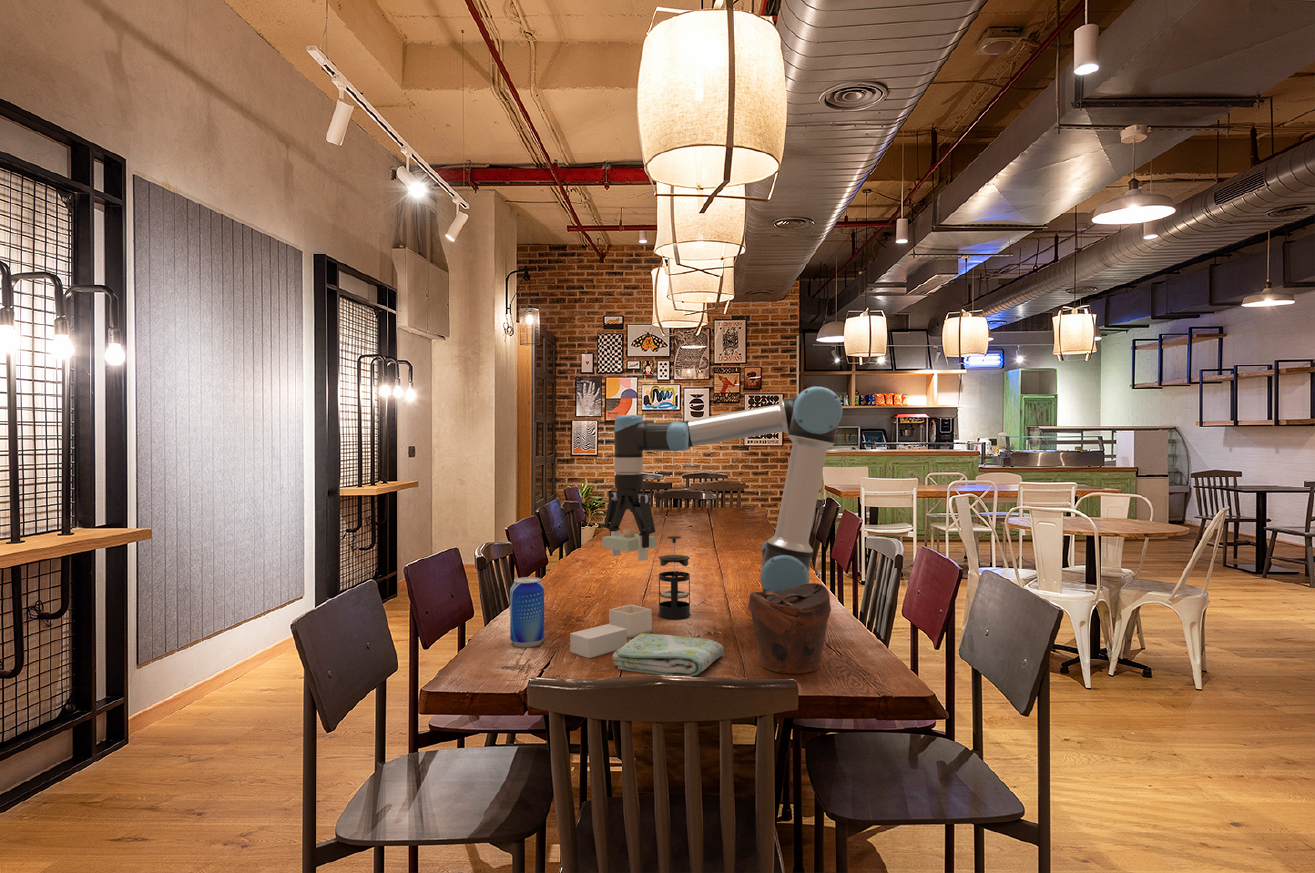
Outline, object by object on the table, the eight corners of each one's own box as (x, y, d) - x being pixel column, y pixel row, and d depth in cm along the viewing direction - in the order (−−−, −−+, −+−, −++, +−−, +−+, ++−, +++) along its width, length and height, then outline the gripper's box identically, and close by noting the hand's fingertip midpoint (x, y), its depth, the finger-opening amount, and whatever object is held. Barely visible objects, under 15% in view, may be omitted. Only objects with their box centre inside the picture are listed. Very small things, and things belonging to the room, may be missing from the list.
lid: (655, 547, 188) (655, 529, 188) (627, 551, 181) (627, 532, 181) (630, 543, 195) (630, 525, 195) (602, 547, 188) (602, 529, 188)
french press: (690, 620, 200) (690, 538, 200) (657, 620, 200) (656, 538, 200) (690, 610, 212) (690, 533, 212) (659, 610, 212) (658, 533, 212)
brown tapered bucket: (731, 670, 157) (732, 589, 157) (770, 648, 173) (771, 574, 173) (808, 687, 147) (810, 600, 147) (841, 662, 163) (842, 584, 163)
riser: (626, 647, 174) (626, 629, 174) (588, 658, 166) (588, 638, 166) (608, 641, 179) (608, 623, 179) (570, 651, 171) (570, 633, 171)
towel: (642, 648, 175) (641, 627, 175) (725, 657, 167) (724, 636, 167) (609, 670, 158) (609, 647, 158) (700, 682, 150) (700, 658, 150)
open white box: (651, 631, 188) (651, 609, 188) (629, 638, 183) (629, 614, 183) (631, 626, 194) (631, 604, 194) (609, 632, 188) (609, 609, 188)
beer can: (540, 637, 184) (540, 575, 184) (547, 646, 176) (547, 581, 176) (507, 640, 181) (507, 577, 181) (513, 649, 173) (513, 584, 173)
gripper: (669, 474, 183) (669, 561, 182) (611, 471, 199) (612, 551, 199) (648, 475, 177) (648, 564, 177) (590, 472, 193) (591, 554, 193)
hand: (629, 557), depth 188 cm, fingers closed on lid, 10 cm apart
